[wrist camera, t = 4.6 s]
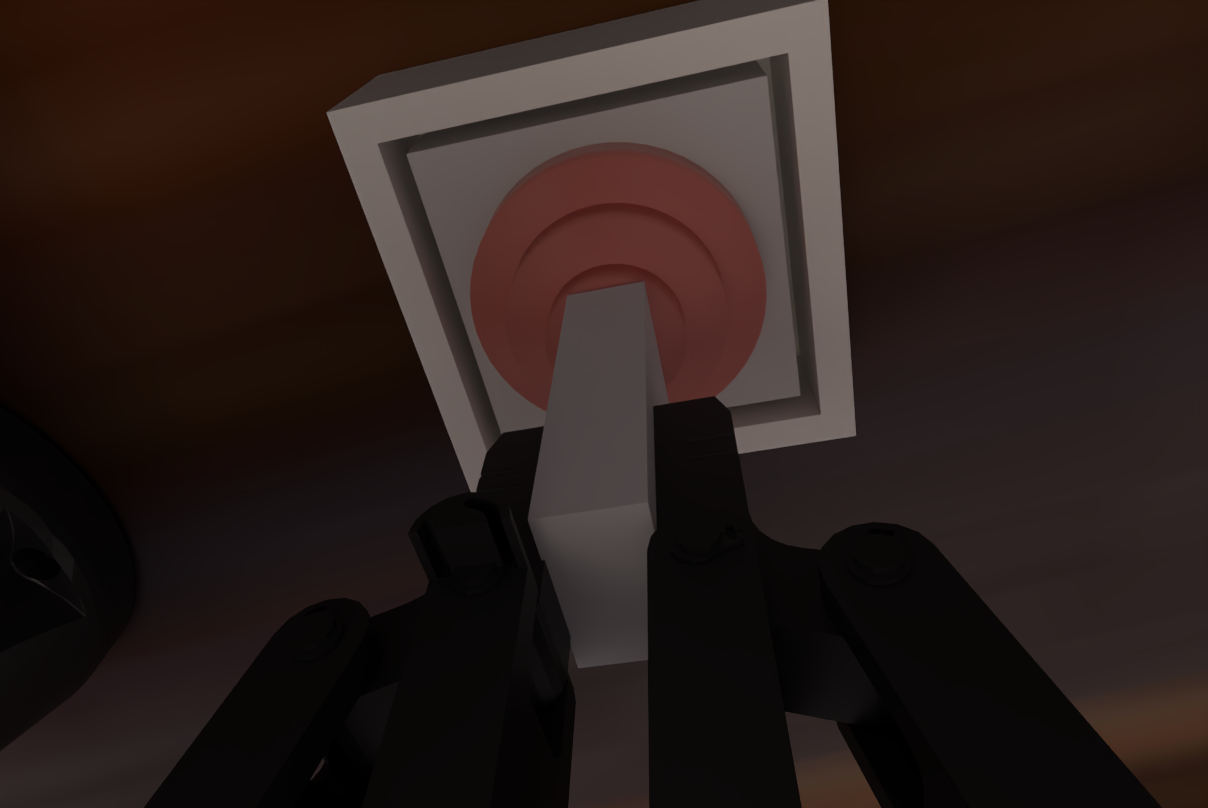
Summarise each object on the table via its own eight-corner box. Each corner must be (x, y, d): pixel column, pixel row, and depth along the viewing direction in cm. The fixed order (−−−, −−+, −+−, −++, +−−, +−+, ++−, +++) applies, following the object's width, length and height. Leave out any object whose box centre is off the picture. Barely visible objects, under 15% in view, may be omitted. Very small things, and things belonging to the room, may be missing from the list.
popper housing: (824, 358, 24) (856, 435, 20) (493, 413, 25) (471, 494, 22) (792, -22, 18) (827, -3, 15) (378, 74, 20) (326, 112, 17)
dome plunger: (787, 356, 22) (824, 468, 18) (514, 402, 23) (487, 518, 19) (754, 58, 18) (791, 109, 14) (426, 130, 19) (366, 199, 15)
